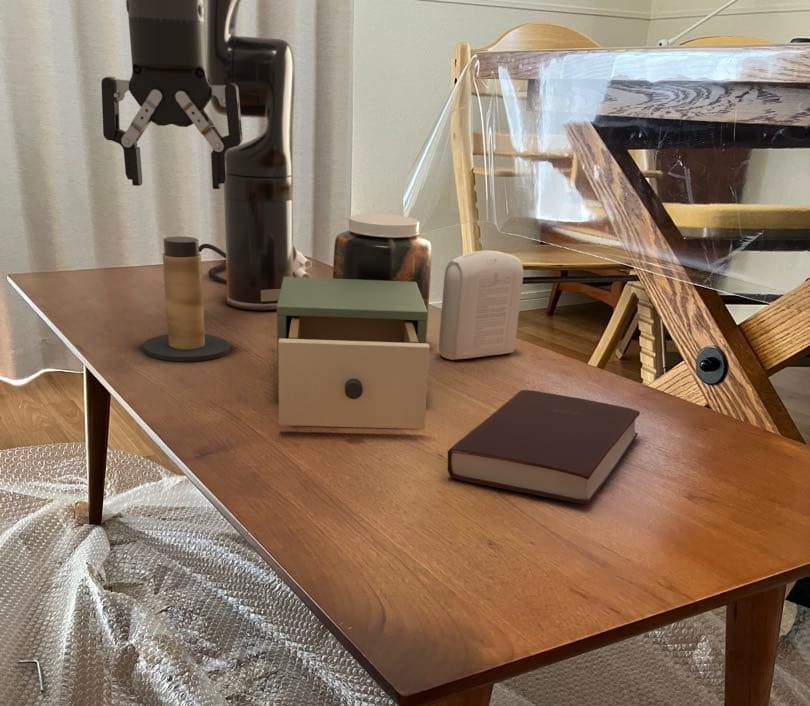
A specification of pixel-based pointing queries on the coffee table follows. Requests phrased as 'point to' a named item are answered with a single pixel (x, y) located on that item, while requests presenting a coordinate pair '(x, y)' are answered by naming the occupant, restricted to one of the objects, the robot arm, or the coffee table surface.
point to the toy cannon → (296, 266)
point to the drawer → (352, 373)
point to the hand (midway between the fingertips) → (177, 186)
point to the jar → (384, 251)
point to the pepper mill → (183, 293)
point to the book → (546, 446)
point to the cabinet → (349, 302)
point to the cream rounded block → (480, 305)
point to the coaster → (163, 351)
